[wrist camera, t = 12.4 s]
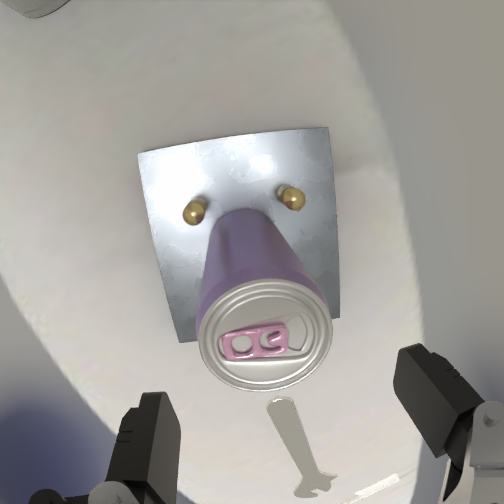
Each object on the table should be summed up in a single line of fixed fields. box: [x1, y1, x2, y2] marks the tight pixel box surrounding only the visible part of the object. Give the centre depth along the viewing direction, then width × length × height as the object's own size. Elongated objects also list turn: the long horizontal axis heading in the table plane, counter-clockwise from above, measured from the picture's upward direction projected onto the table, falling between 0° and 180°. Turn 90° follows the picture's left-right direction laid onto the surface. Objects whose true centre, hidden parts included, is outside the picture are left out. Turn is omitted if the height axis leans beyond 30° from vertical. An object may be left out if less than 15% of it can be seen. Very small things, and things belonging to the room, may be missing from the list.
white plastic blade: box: [342, 473, 400, 504], centre depth 46 cm, size 5×15×1 cm, turn 119°
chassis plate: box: [137, 127, 340, 343], centre depth 26 cm, size 18×16×5 cm
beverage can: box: [196, 209, 333, 392], centre depth 19 cm, size 6×6×15 cm
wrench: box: [266, 396, 337, 498], centre depth 39 cm, size 8×32×1 cm, turn 18°
